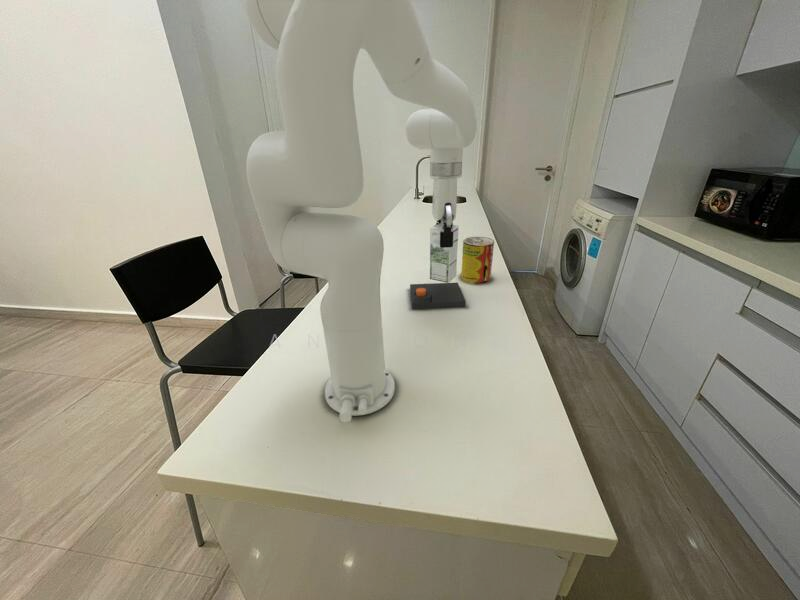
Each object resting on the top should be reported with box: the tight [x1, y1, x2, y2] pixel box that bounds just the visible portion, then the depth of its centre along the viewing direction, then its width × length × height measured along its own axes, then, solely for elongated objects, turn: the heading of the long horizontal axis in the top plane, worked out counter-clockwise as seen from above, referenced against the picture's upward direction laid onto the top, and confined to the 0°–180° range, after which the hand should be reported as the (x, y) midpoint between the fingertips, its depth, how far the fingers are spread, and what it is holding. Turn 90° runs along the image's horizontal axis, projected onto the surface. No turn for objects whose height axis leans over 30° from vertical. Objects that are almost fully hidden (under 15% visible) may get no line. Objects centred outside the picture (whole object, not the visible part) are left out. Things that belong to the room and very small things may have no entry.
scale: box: [409, 282, 466, 310], centre depth 91 cm, size 13×14×4 cm
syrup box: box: [429, 222, 459, 283], centre depth 88 cm, size 6×6×14 cm
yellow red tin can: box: [460, 236, 495, 285], centre depth 101 cm, size 9×9×12 cm
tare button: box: [416, 288, 426, 297], centre depth 87 cm, size 3×3×2 cm
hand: (443, 241), depth 86 cm, fingers closed on syrup box, 7 cm apart
